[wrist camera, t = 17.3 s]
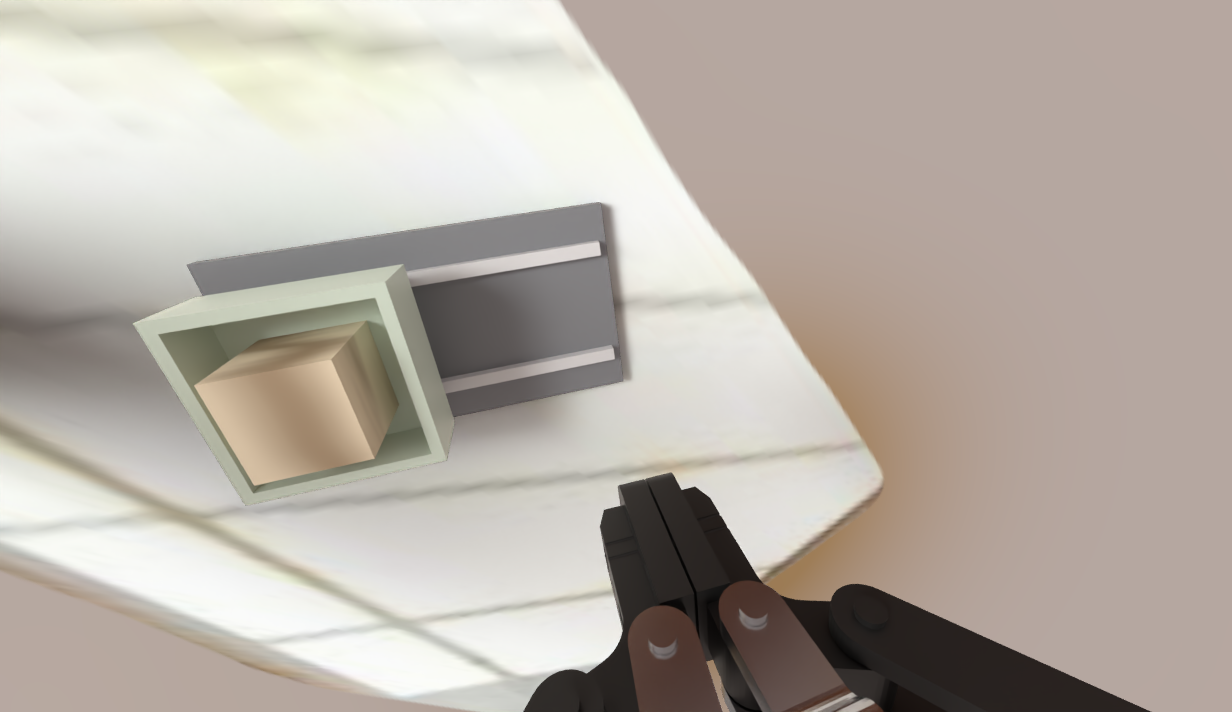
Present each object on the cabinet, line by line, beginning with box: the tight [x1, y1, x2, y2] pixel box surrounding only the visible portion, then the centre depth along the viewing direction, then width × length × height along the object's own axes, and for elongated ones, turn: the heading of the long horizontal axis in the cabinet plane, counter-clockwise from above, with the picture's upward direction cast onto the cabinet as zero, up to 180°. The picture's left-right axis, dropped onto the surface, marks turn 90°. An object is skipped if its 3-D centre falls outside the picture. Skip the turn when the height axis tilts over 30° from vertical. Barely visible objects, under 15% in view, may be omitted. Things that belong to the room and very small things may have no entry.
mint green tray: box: [133, 264, 455, 506], centre depth 23 cm, size 10×10×6 cm
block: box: [194, 320, 399, 486], centre depth 21 cm, size 5×5×5 cm
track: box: [187, 202, 623, 417], centre depth 27 cm, size 22×12×1 cm, turn 97°
